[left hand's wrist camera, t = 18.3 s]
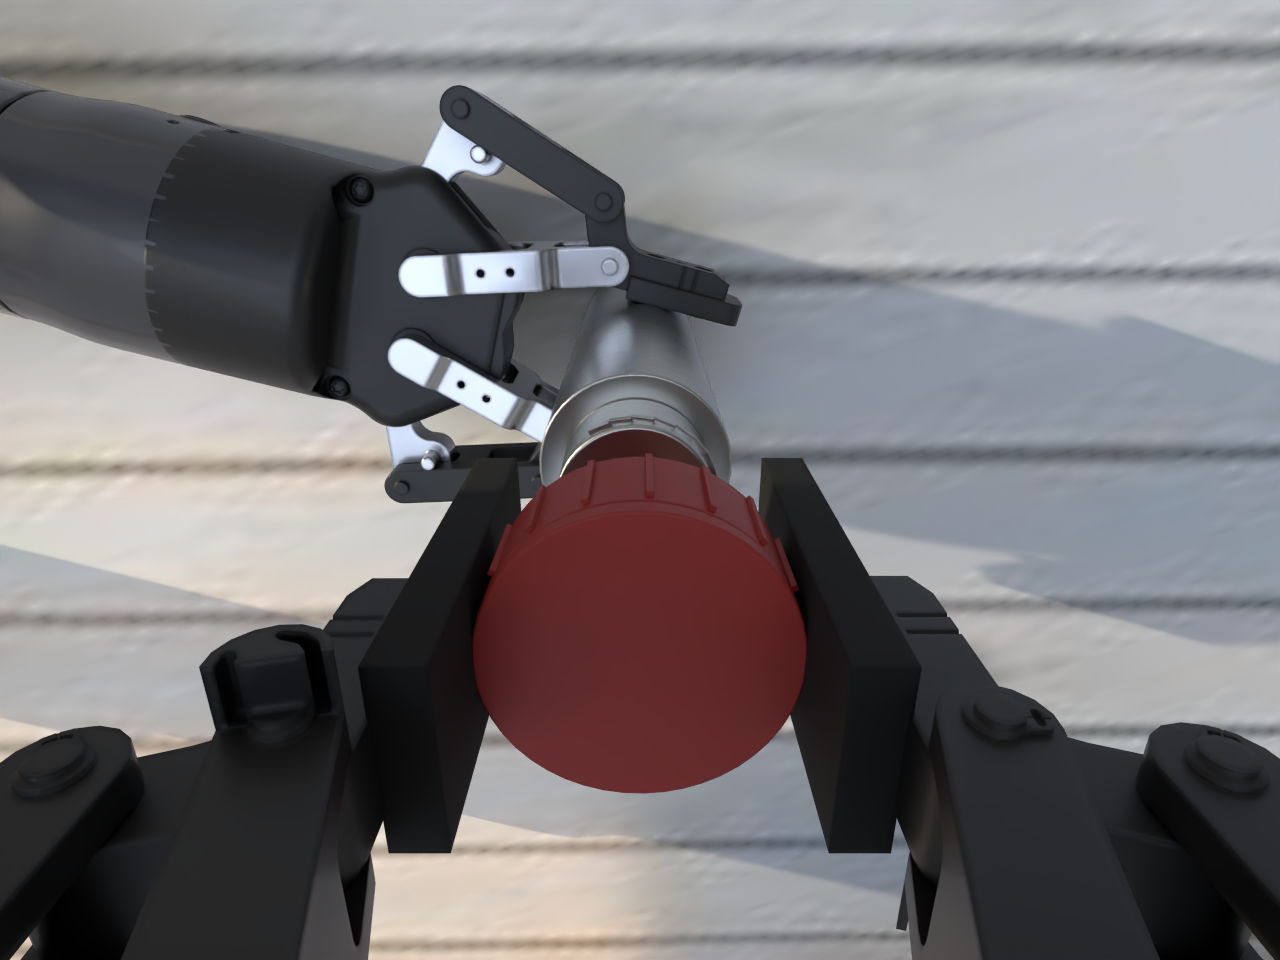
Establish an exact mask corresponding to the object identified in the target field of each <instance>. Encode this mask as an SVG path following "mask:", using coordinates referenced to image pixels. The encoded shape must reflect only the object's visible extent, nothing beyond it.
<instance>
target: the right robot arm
mask: <svg viewBox="0 0 1280 960" xmlns="http://www.w3.org/2000/svg"><path fill="white" fill-rule="evenodd" d="M440 113H441V116H442V118H443V120H442V122H441V125H440V127H439V129H438V131H437V133H436V135H435V137H434V140H433V142H432V144H431V146H430V148H429V150H428V152H427V155H426V157H425V159H424V161H423V163H422V165H421V166H408V167H404V168H401V169H398V170H394V171H388V172H387V171H381V170H376V169H372V168H368V167H364V166H361V165H357V164H353V163H350V162H346V161H342V160H339V159H335V158H331V157H327V156H324V155H320V154H316V153H313V152H309V151H305V150H302V149H298V148H294V147H291V146H287V145H283V144H280V143H276V142H272V141H269V140H265V139H262V138H258V137H254V136H251V135H247V134H243V133H239V132H236V131H232V130H228V129H224V128H221V127H220V126H219V125H217V124H215V123H212V122H210V121H207V120H204V119H202V118H198V117H195V116H190V115H185V116H183V115H180V116H177V115H173V114H169V113H166V112H162V111H158V110H154V109H151V108H147V107H142V106H138V105H134V104H129V103H122V102H116V101H108V100H99V99H91V98H84V97H78V96H72V95H68V94H63V93H59V92H55V91H52V90H48V89H44V88H40V87H37V86H33V85H29V84H26V83H22V82H18V81H15V80H11V79H7V78H4V77H0V313H4V314H8V315H13V316H17V317H21V318H25V319H31V320H34V321H37V322H41V323H44V324H47V325H50V326H53V327H55V328H58V329H61V330H63V331H66V332H68V333H71V334H74V335H76V336H79V337H81V338H84V339H87V340H90V341H93V342H96V343H99V344H103V345H106V346H110V347H113V348H117V349H121V350H124V351H129V352H133V353H137V354H141V355H145V356H149V357H154V358H158V359H162V360H166V361H170V362H174V363H178V364H183V365H187V366H191V367H195V368H199V369H203V370H208V371H212V372H216V373H220V374H224V375H228V376H232V377H236V378H241V379H245V380H249V381H253V382H257V383H261V384H266V385H270V386H274V387H278V388H282V389H286V390H291V391H295V392H299V393H303V394H307V395H311V396H316V397H322V398H328V399H335V400H340V401H344V402H347V403H349V404H351V405H353V406H355V407H357V408H359V409H360V410H362V411H363V412H364V413H366V414H367V415H368V416H369V417H370V418H372V419H373V420H374V421H376V422H378V423H380V424H382V425H385V426H386V430H387V435H388V441H389V446H390V452H391V457H392V463H393V471H392V472H391V473H390V475H389V476H388V477H387V479H386V481H385V490H386V493H387V494H388V496H389V497H390V498H391V499H393V500H394V501H396V502H399V503H422V502H447V501H453V500H454V498H455V497H456V495H457V493H458V492H459V490H460V488H461V486H462V485H463V483H464V481H465V479H466V478H467V476H468V474H469V472H470V471H471V469H472V467H473V465H474V464H475V462H476V460H477V458H518V472H519V488H520V499H521V498H534V497H535V496H536V493H537V490H538V488H539V487H540V486H541V485H543V484H542V481H541V475H540V463H539V458H540V449H541V444H542V440H543V436H544V433H545V430H546V427H547V424H548V421H549V419H550V416H551V413H552V410H553V407H554V404H555V401H556V398H557V395H558V393H559V390H557V389H556V388H554V387H552V386H551V385H549V384H547V383H545V382H544V381H543V380H541V378H540V377H539V376H538V375H537V374H536V373H535V372H534V371H532V370H531V369H529V368H527V367H525V366H524V365H522V364H520V363H518V362H517V361H515V360H513V359H511V358H512V353H513V348H514V336H513V320H514V318H515V316H516V314H517V312H518V310H519V308H520V306H521V304H522V302H523V298H524V293H525V292H539V291H549V290H553V289H559V288H583V287H609V286H610V287H614V288H617V289H621V290H625V291H626V299H629V300H633V301H636V302H640V303H644V304H649V305H653V306H656V307H659V308H663V309H667V310H671V311H674V312H678V313H682V314H686V315H690V316H693V317H697V318H701V319H705V320H709V321H712V322H716V323H720V324H724V325H729V326H736V324H737V321H738V317H739V314H740V311H741V308H742V304H741V302H740V301H739V300H738V299H737V298H736V297H734V296H731V295H729V294H727V291H728V288H729V284H728V283H727V281H726V280H725V279H724V278H723V277H722V276H720V275H719V274H718V273H716V272H715V271H714V270H713V269H710V268H706V267H702V266H699V265H695V264H691V263H688V262H683V261H680V260H677V259H673V258H669V257H665V256H662V255H658V254H654V253H651V252H647V251H644V250H641V249H639V248H638V247H636V246H635V245H634V244H633V243H632V242H631V240H630V238H629V236H628V233H627V227H626V217H625V207H624V203H625V195H624V191H623V189H622V187H621V186H620V185H619V184H618V183H617V182H615V181H614V180H612V179H611V178H609V177H608V176H606V175H605V174H603V173H602V172H600V171H599V170H597V169H596V168H594V167H593V166H591V165H590V164H588V163H587V162H585V161H584V160H582V159H580V158H579V157H577V156H576V155H574V154H573V153H571V152H570V151H568V150H567V149H565V148H564V147H562V146H561V145H559V144H558V143H556V142H555V141H553V140H552V139H550V138H549V137H547V136H546V135H544V134H543V133H541V132H540V131H538V130H536V129H535V128H533V127H532V126H530V125H529V124H527V123H526V122H524V121H523V120H521V119H520V118H518V117H517V116H515V115H514V114H512V113H511V112H509V111H508V110H506V109H505V108H503V107H502V106H500V105H499V104H497V103H496V102H494V101H492V100H491V99H489V98H488V97H486V96H485V95H483V94H481V93H479V92H477V91H475V90H472V89H470V88H468V87H465V86H461V85H457V86H453V87H450V88H449V89H447V90H446V91H445V92H444V94H443V95H442V97H441V100H440ZM506 164H507V165H509V166H510V167H512V168H513V169H515V170H517V171H518V172H520V173H521V174H523V175H524V176H526V177H527V178H529V179H531V180H532V181H534V182H535V183H537V184H538V185H540V186H541V187H543V188H545V189H546V190H548V191H549V192H551V193H552V194H554V195H555V196H557V197H559V198H560V199H562V200H563V201H565V202H566V203H568V204H570V205H571V206H573V207H574V208H576V209H577V210H579V211H580V212H582V213H584V214H585V218H586V227H587V235H588V240H579V241H557V240H546V241H520V242H506V241H505V240H504V239H503V237H502V236H501V235H500V234H499V233H498V232H497V230H496V229H495V228H494V227H493V226H492V224H491V223H490V222H489V221H488V220H487V219H486V217H485V216H484V215H483V214H482V213H481V212H480V210H479V209H478V208H477V207H476V206H475V205H474V203H473V202H472V201H471V200H470V199H469V197H468V196H467V195H466V194H465V193H464V192H463V190H462V189H461V188H460V187H459V186H458V185H457V183H456V182H455V180H456V179H457V177H458V176H459V175H461V174H462V173H464V172H467V171H469V172H473V173H475V174H477V175H480V176H492V175H496V174H498V173H500V172H501V171H502V170H503V169H504V168H505V166H506ZM486 395H488V396H489V397H490V398H487V397H486ZM459 405H463V406H464V407H466V408H468V409H470V410H472V411H473V412H475V413H477V414H479V415H481V416H483V417H484V418H486V419H488V420H490V421H492V422H493V423H495V424H497V425H499V426H501V427H503V428H506V429H510V430H512V429H515V430H519V431H521V432H523V433H524V434H526V435H528V436H530V437H532V438H533V439H535V440H537V441H539V442H533V443H508V444H484V445H460V446H455V444H454V442H453V440H452V439H451V438H450V437H449V436H448V435H446V434H444V433H439V432H433V431H430V430H428V429H426V428H425V427H424V426H423V425H422V423H421V422H420V420H423V419H425V418H428V417H431V416H433V415H436V414H438V413H441V412H443V411H446V410H448V409H451V408H454V407H456V406H459Z"/></svg>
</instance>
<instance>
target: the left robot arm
mask: <svg viewBox="0 0 1280 960" xmlns="http://www.w3.org/2000/svg"><path fill="white" fill-rule="evenodd" d="M520 513H521V503H520V488H519V472H518V458H477V460H476V462H475V464H474V465H473V467H472V469H471V471H470V472H469V474H468V476H467V478H466V479H465V481H464V483H463V485H462V486H461V488H460V490H459V492H458V493H457V495H456V497H455V498H454V500H453V502H452V504H451V505H450V507H449V509H448V511H447V512H446V514H445V516H444V518H443V519H442V521H441V523H440V525H439V526H438V528H437V530H436V532H435V533H434V535H433V537H432V539H431V540H430V542H429V544H428V546H427V547H426V549H425V551H424V552H423V554H422V556H421V558H420V559H419V561H418V563H417V565H416V566H415V568H414V570H413V572H412V573H411V575H410V577H409V578H372V579H371V580H369V581H368V582H366V583H365V584H363V585H362V586H360V587H359V588H358V589H356V590H355V591H353V592H352V593H350V594H349V595H347V596H346V598H345V599H344V601H343V602H342V604H341V605H340V606H339V608H338V609H337V611H336V612H335V614H334V615H333V620H330V621H329V622H328V624H327V625H326V626H325V628H324V629H323V630H322V629H320V628H316V627H312V626H307V625H303V624H297V625H277V626H272V627H267V628H263V629H258V630H254V631H251V632H249V633H246V634H244V635H241V636H239V637H236V638H234V639H231V640H230V641H228V642H227V643H225V644H224V645H222V646H220V647H219V648H217V649H216V650H214V651H213V652H211V653H210V655H209V656H208V657H207V658H206V659H205V661H204V662H203V663H202V664H201V665H200V667H199V668H200V672H201V676H202V680H203V683H204V687H205V691H206V695H207V699H208V703H209V706H210V710H211V714H212V718H213V722H214V725H215V729H216V731H215V734H214V736H213V739H212V741H208V742H205V743H201V744H197V745H194V746H190V747H185V748H180V749H175V750H171V751H166V752H161V753H157V754H152V755H147V756H143V757H138V758H137V756H136V753H135V750H134V747H133V744H132V740H131V738H130V737H129V736H128V735H126V734H125V733H124V732H123V731H121V730H120V729H117V728H110V727H104V726H93V727H84V728H76V729H71V730H67V731H63V732H60V733H58V734H53V735H50V736H47V737H44V738H42V739H40V740H38V741H37V742H34V743H32V744H30V745H28V746H26V747H24V748H22V749H20V750H18V751H16V752H15V753H13V754H12V755H10V756H9V757H8V758H6V759H5V760H4V761H2V762H1V763H0V960H10V959H11V957H12V956H13V955H14V954H15V952H16V951H17V950H18V949H19V947H20V946H21V945H22V944H23V943H24V941H25V940H26V939H27V938H28V936H29V938H30V940H31V942H32V946H31V947H30V949H29V950H28V951H27V952H26V954H25V955H24V956H23V957H22V959H21V960H368V953H369V943H370V933H371V923H372V913H373V903H374V893H375V876H374V870H373V864H372V859H371V853H370V852H371V849H372V847H373V844H374V842H375V839H376V837H377V834H378V832H379V829H380V827H381V824H382V822H384V828H385V834H386V840H387V846H388V852H389V853H451V850H452V847H453V843H454V839H455V836H456V832H457V829H458V825H459V821H460V818H461V814H462V811H463V807H464V804H465V800H466V796H467V793H468V789H469V786H470V782H471V778H472V775H473V771H474V768H475V764H476V761H477V757H478V753H479V750H480V746H481V743H482V739H483V735H484V732H485V728H486V725H487V721H488V718H489V713H488V711H487V710H486V708H485V706H484V704H483V702H482V699H481V697H480V694H479V691H478V689H477V686H476V678H475V669H474V659H473V648H472V637H473V629H474V625H475V621H476V617H477V614H478V610H479V608H480V605H481V602H482V600H483V597H484V594H485V591H486V589H487V586H488V583H489V581H490V578H491V576H490V575H488V574H487V573H488V570H489V568H490V565H491V563H492V560H493V557H494V555H495V552H496V550H497V547H498V544H499V542H500V539H501V537H502V534H503V531H504V529H505V527H506V525H507V524H510V525H513V523H514V521H515V520H516V518H517V517H518V515H519V514H520ZM759 514H760V515H761V517H762V518H763V519H764V521H765V522H766V524H767V526H768V528H769V530H770V532H771V534H772V536H773V538H774V539H777V538H779V539H780V541H781V544H782V546H783V549H784V551H785V554H786V557H787V559H788V562H789V564H790V567H791V570H792V572H793V575H794V577H795V580H796V583H797V585H798V588H799V591H796V592H794V594H795V597H796V599H797V602H798V605H799V608H800V611H801V614H802V617H803V620H804V623H805V629H806V635H807V653H806V664H805V674H804V682H803V686H802V689H801V692H800V695H799V698H798V700H797V702H796V704H795V706H794V708H793V710H792V712H791V714H790V716H791V719H792V723H793V726H794V730H795V733H796V737H797V741H798V744H799V748H800V751H801V755H802V759H803V762H804V766H805V769H806V773H807V776H808V780H809V784H810V787H811V791H812V794H813V798H814V802H815V805H816V809H817V812H818V816H819V820H820V823H821V827H822V830H823V834H824V837H825V841H826V845H827V848H828V852H829V853H891V849H892V843H893V837H894V831H895V825H896V819H898V822H899V824H900V827H901V829H902V832H903V834H904V837H905V839H906V842H907V844H908V847H909V849H910V853H909V858H908V864H907V870H906V875H905V881H904V886H903V892H902V897H901V903H900V908H899V914H898V921H897V927H896V929H900V930H905V931H906V928H907V923H908V921H909V931H910V941H911V951H912V960H1263V959H1262V958H1261V957H1260V956H1259V955H1258V953H1257V952H1256V951H1255V950H1254V948H1253V947H1252V946H1251V945H1250V943H1249V942H1248V941H1249V938H1250V936H1251V934H1252V933H1253V934H1254V935H1255V936H1256V938H1257V939H1258V940H1259V941H1260V943H1261V944H1262V945H1263V946H1264V947H1265V949H1266V950H1267V951H1268V952H1269V954H1270V955H1271V956H1272V957H1273V958H1274V960H1280V759H1279V758H1278V757H1276V756H1275V755H1274V754H1272V753H1271V752H1270V751H1268V750H1267V749H1265V748H1263V747H1261V746H1259V745H1257V744H1255V743H1253V742H1251V741H1249V740H1247V739H1245V738H1243V737H1241V736H1239V735H1237V734H1235V733H1232V732H1229V731H1226V730H1221V729H1219V728H1215V727H1211V726H1207V725H1199V724H1190V723H1182V722H1181V723H1174V724H1168V725H1162V726H1160V727H1159V728H1157V729H1156V730H1155V731H1154V732H1152V733H1151V734H1150V735H1149V738H1148V742H1147V745H1146V748H1145V751H1144V754H1138V753H1134V752H1129V751H1124V750H1119V749H1115V748H1110V747H1105V746H1101V745H1096V744H1091V743H1087V742H1083V741H1080V740H1076V739H1072V738H1069V737H1067V735H1066V732H1065V730H1064V728H1063V727H1062V726H1061V724H1060V723H1059V721H1058V720H1057V719H1056V717H1055V716H1054V714H1053V713H1051V712H1050V711H1049V710H1047V709H1046V708H1045V707H1043V706H1042V705H1041V704H1039V703H1038V702H1037V701H1035V700H1034V699H1031V698H1029V697H1027V696H1025V695H1023V694H1020V693H1018V692H1016V691H1014V690H1012V689H1007V688H1003V687H999V686H998V685H997V684H996V682H995V681H994V679H993V678H992V677H991V675H990V674H989V672H988V671H987V669H986V668H985V667H984V665H983V664H982V662H981V661H980V660H979V658H978V657H977V655H976V654H975V652H974V651H973V650H972V648H971V647H970V645H969V644H968V642H967V641H966V640H965V638H964V637H963V635H962V634H959V630H958V628H957V627H956V625H955V624H954V623H953V621H952V620H951V618H950V617H947V613H946V611H945V610H944V608H943V607H942V605H941V604H940V603H939V601H938V600H937V598H936V597H935V595H934V594H933V593H932V592H930V591H929V590H927V589H926V588H924V587H923V586H921V585H920V584H919V583H917V582H916V581H914V580H913V579H911V578H910V577H908V576H869V574H868V572H867V571H866V569H865V567H864V566H863V564H862V562H861V560H860V559H859V557H858V555H857V553H856V552H855V550H854V548H853V546H852V545H851V543H850V541H849V539H848V538H847V536H846V534H845V532H844V531H843V529H842V527H841V525H840V524H839V522H838V520H837V518H836V517H835V515H834V513H833V511H832V510H831V508H830V506H829V505H828V503H827V501H826V499H825V498H824V496H823V494H822V492H821V491H820V489H819V487H818V485H817V484H816V482H815V480H814V478H813V477H812V475H811V473H810V471H809V470H808V468H807V466H806V464H805V463H804V461H803V459H802V458H762V465H761V481H760V496H759Z"/></svg>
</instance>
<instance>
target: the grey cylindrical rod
mask: <svg viewBox="0 0 1280 960" xmlns="http://www.w3.org/2000/svg"><path fill="white" fill-rule="evenodd" d="M646 453H649V454H653V457H657V458H663V459H669V460H675V461H679V462H682V463H686V464H689V465H693V466H695V467H698V468H700V469H701V467H702V466H705V467H707V468H709V472H710V473H712V474H713V475H715V476H717V477H718V478H720V479H722V480H723V481H725V482H727V483H728V484H729V481H730V476H731V466H732V459H731V449H730V444H729V439H728V436H727V433H726V430H725V427H724V424H723V421H722V418H721V415H720V412H719V409H718V406H717V403H716V400H715V397H714V394H713V391H712V388H711V385H710V382H709V379H708V376H707V373H706V370H705V367H704V364H703V361H702V358H701V355H700V353H699V350H698V347H697V344H696V341H695V338H694V335H693V332H692V329H691V326H690V323H689V320H688V317H687V315H686V314H682V313H678V312H674V311H671V310H667V309H663V308H659V307H656V306H653V305H649V304H644V303H640V302H636V301H633V300H629V299H626V291H625V290H621V289H617V288H614V287H610V286H609V287H600V288H599V289H598V290H597V292H596V293H595V294H594V296H593V298H592V299H591V301H590V304H589V306H588V309H587V312H586V315H585V317H584V320H583V323H582V326H581V329H580V332H579V335H578V338H577V341H576V343H575V346H574V349H573V352H572V355H571V358H570V361H569V364H568V367H567V369H566V372H565V375H564V378H563V381H562V384H561V387H560V390H559V393H558V395H557V398H556V401H555V404H554V407H553V410H552V413H551V416H550V419H549V421H548V424H547V427H546V430H545V433H544V436H543V440H542V444H541V449H540V458H539V463H540V475H541V481H542V484H543V485H544V486H545V487H547V486H548V485H550V484H551V483H553V482H554V481H556V480H557V479H559V478H560V477H562V476H564V475H566V474H568V473H570V472H572V471H574V470H576V469H579V468H582V467H584V466H587V462H588V461H591V460H594V461H595V463H596V462H600V461H605V460H610V459H615V458H625V457H645V454H646Z"/></svg>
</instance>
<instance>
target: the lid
mask: <svg viewBox="0 0 1280 960" xmlns="http://www.w3.org/2000/svg"><path fill="white" fill-rule="evenodd" d="M487 574H488V575H490V576H491V578H490V581H489V583H488V586H487V589H486V591H485V594H484V597H483V600H482V602H481V605H480V608H479V610H478V614H477V617H476V621H475V625H474V629H473V637H472V648H473V659H474V669H475V678H476V686H477V689H478V691H479V694H480V697H481V699H482V702H483V704H484V706H485V708H486V710H487V711H488V713H489V715H490V717H491V719H492V720H493V722H494V723H495V724H496V726H497V727H498V728H499V730H500V731H501V732H502V734H503V735H504V736H505V737H506V738H507V739H508V740H509V741H510V742H511V743H512V744H513V745H514V746H515V747H516V748H517V749H518V750H519V751H520V752H522V753H523V754H524V755H525V756H527V757H528V758H529V759H530V760H532V761H533V762H535V763H537V764H538V765H540V766H541V767H543V768H545V769H546V770H548V771H550V772H552V773H554V774H556V775H558V776H560V777H562V778H565V779H567V780H570V781H573V782H576V783H578V784H581V785H584V786H588V787H593V788H597V789H601V790H606V791H614V792H621V793H656V792H666V791H672V790H678V789H684V788H687V787H691V786H694V785H698V784H701V783H704V782H707V781H709V780H712V779H714V778H717V777H719V776H722V775H723V774H725V773H727V772H729V771H731V770H733V769H735V768H736V767H738V766H740V765H741V764H743V763H744V762H746V761H747V760H748V759H750V758H751V757H753V756H754V755H755V754H756V753H758V752H759V751H760V750H761V749H762V748H763V747H764V746H765V745H767V744H768V743H769V742H770V741H771V739H772V738H773V737H774V736H775V735H776V734H777V732H778V731H779V730H780V729H781V728H782V726H783V725H784V723H785V722H786V720H787V719H788V717H789V716H790V714H791V712H792V710H793V708H794V706H795V704H796V702H797V700H798V698H799V695H800V692H801V689H802V686H803V682H804V674H805V664H806V653H807V635H806V629H805V623H804V620H803V617H802V614H801V611H800V608H799V605H798V602H797V599H796V597H795V594H794V592H796V591H799V588H798V585H797V583H796V580H795V577H794V575H793V572H792V570H791V567H790V564H789V562H788V559H787V557H786V554H785V551H784V549H783V546H782V544H781V541H780V539H779V538H777V539H774V538H773V536H772V534H771V532H770V530H769V528H768V526H767V524H766V522H765V521H764V519H763V518H762V517H761V515H760V514H759V512H758V511H757V508H756V505H755V502H754V499H753V498H752V497H751V496H748V497H747V498H745V497H744V496H743V495H742V494H741V493H740V492H738V491H737V490H736V489H735V488H733V487H732V486H731V485H730V484H728V483H727V482H725V481H723V480H722V479H720V478H718V477H717V476H715V475H713V474H712V473H710V472H709V468H707V467H705V466H702V467H701V469H700V468H698V467H695V466H693V465H689V464H686V463H682V462H679V461H675V460H669V459H663V458H657V457H653V454H649V453H646V454H645V457H625V458H615V459H610V460H605V461H600V462H596V463H595V461H594V460H591V461H588V462H587V466H584V467H582V468H579V469H576V470H574V471H572V472H570V473H568V474H566V475H564V476H562V477H560V478H559V479H557V480H556V481H554V482H553V483H551V484H550V485H548V486H547V487H545V486H544V485H541V486H540V487H539V488H538V490H537V493H536V496H535V497H534V498H533V499H532V500H531V501H530V502H529V503H528V504H527V505H526V507H525V508H524V509H523V510H522V511H521V513H520V514H519V515H518V517H517V518H516V520H515V521H514V523H513V525H510V524H507V525H506V527H505V529H504V531H503V534H502V537H501V539H500V542H499V544H498V547H497V550H496V552H495V555H494V557H493V560H492V563H491V565H490V568H489V570H488V573H487Z"/></svg>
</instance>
